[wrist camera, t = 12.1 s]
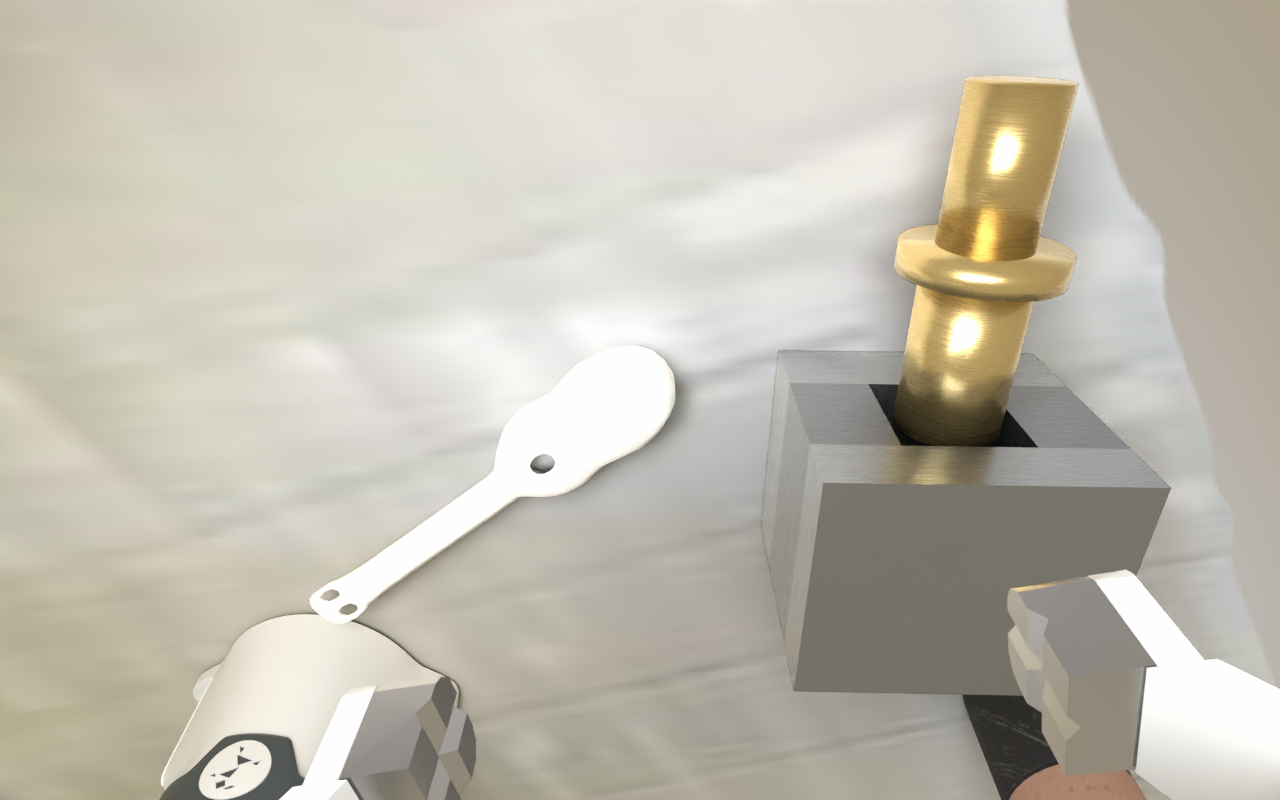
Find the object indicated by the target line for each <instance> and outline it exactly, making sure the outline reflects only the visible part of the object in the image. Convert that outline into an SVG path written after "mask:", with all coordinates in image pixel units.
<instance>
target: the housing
mask: <svg viewBox="0 0 1280 800" xmlns="http://www.w3.org/2000/svg"><path fill="white" fill-rule="evenodd" d="M903 357H904V352H856V351H780V350H778V359H777V369H776V379H775V389H774V400H773V410H772V420H771V430H770V440H769V450H768V460H767V470H766V480H765V490H764V501H763V511H762V521H761V527H762V532H763V537H764V542H765V548H766V553H767V558H768V563H769V568H770V573H771V578H772V583H773V588H774V593H775V599H776V604H777V609H778V614H779V619H780V624H781V629H782V634H783V639H784V644H785V650H786V655H787V660H788V665H789V670H790V675H791V680H792V685H793V690H794V691H807V692H860V693H912V694H965V695H1018V696H1023V694H1022V692H1021V690H1020V688H1019V686H1018V683H1017V681H1016V678H1015V675H1014V673H1013V669H1012V665H1011V660H1010V656H1009V650H1008V633H1009V632H1010V631H1011V629H1012V628H1013V627H1014V626H1015V623H1014V621H1013V619H1012V617H1011V616H1010V614H1009V612H1008V610H1007V599H1008V593H1009V591H1010V589H1011V588H1017V587H1023V586H1029V585H1035V584H1041V583H1047V582H1053V581H1059V580H1065V579H1072V578H1078V577H1086V576H1090V575H1096V574H1102V573H1108V572H1114V571H1120V570H1128V571H1129V572H1131V573H1133V574H1134V575H1135V576H1136V575H1137V572H1138V570H1139V567H1140V565H1141V562H1142V560H1143V557H1144V555H1145V552H1146V550H1147V547H1148V545H1149V542H1150V540H1151V537H1152V535H1153V532H1154V530H1155V527H1156V525H1157V522H1158V520H1159V517H1160V515H1161V512H1162V510H1163V507H1164V504H1165V502H1166V499H1167V497H1168V494H1169V492H1170V489H1171V488H1170V487H1169V486H1168V485H1167V484H1166V483H1165V482H1164V481H1163V480H1162V479H1161V478H1160V477H1159V476H1158V475H1157V474H1156V473H1155V472H1154V471H1153V470H1152V469H1151V468H1150V467H1149V466H1148V465H1147V464H1146V463H1145V462H1144V461H1143V460H1142V459H1140V458H1139V457H1138V456H1137V455H1136V454H1135V453H1134V452H1133V451H1132V450H1131V449H1130V448H1129V447H1128V446H1127V445H1126V444H1125V443H1124V442H1123V441H1122V440H1121V439H1120V438H1119V437H1118V436H1117V435H1116V434H1115V433H1114V432H1113V431H1112V430H1111V429H1110V428H1108V427H1107V426H1106V425H1105V424H1104V423H1103V422H1102V421H1101V420H1100V419H1099V418H1098V417H1097V416H1096V415H1095V414H1094V413H1093V412H1092V411H1091V410H1090V409H1089V408H1088V407H1087V406H1086V405H1085V404H1084V403H1083V402H1082V401H1081V400H1080V399H1079V398H1078V397H1076V396H1075V395H1074V394H1073V393H1072V392H1071V391H1070V390H1069V389H1068V388H1067V387H1066V386H1065V385H1064V384H1063V383H1062V382H1061V381H1060V380H1059V379H1058V378H1057V377H1056V376H1055V375H1054V374H1053V373H1052V372H1051V371H1050V370H1049V369H1048V368H1047V367H1046V366H1044V365H1043V364H1042V363H1041V362H1040V361H1039V360H1038V359H1037V358H1036V357H1035V356H1034V355H1033V354H1020V357H1019V361H1018V365H1017V369H1016V373H1015V377H1014V380H1013V384H1012V388H1011V392H1010V396H1009V400H1008V403H1007V407H1006V411H1005V415H1004V419H1003V423H1002V426H1001V430H1000V434H999V438H998V440H997V441H996V442H995V443H994V444H992V445H991V446H988V447H961V446H930V445H927V444H924V443H921V442H919V441H917V440H914V439H912V438H911V437H909V436H907V435H906V434H904V433H903V432H902V431H900V430H899V429H898V428H897V426H896V425H895V424H894V421H893V411H894V406H895V400H896V395H897V390H898V384H899V379H900V373H901V368H902V362H903Z"/></svg>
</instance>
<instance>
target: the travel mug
mask: <svg viewBox="0 0 1280 800" xmlns="http://www.w3.org/2000/svg"><path fill="white" fill-rule="evenodd" d="M963 698H964V703H965V706H966V709H967V712H968V715H969V717H970V720H971V723H972V725H973V728H974V730H975V733H976V735H977V738H978V741H979V743H980V746H981V748H982V751H983V753H984V756H985V759H986V761H987V764H988V766H989V769H990V771H991V774H992V777H993V779H994V782H995V784H996V787H997V789H998V792H999V795H1000V797H1001V800H1146V799H1145V797H1144V795H1143V793H1142V792H1141V790H1140V788H1139V787H1138V785H1137V783H1136V782H1135V780H1134V779H1133V777H1132V775H1131V774H1130V772H1129V771H1128V770H1122V771H1112V772H1101V773H1091V774H1081V775H1070V776H1065V775H1064V773H1063V771H1062V769H1061V767H1060V765H1059V763H1058V761H1057V760H1056V758H1055V756H1054V754H1053V752H1052V750H1051V748H1050V746H1049V744H1048V743H1047V741H1046V739H1045V737H1044V735H1043V733H1042V713H1041V712H1040V711H1038V710H1037V709H1035V708H1034V707H1032V706H1030V705H1029V704H1027V702H1026V700H1025V698H1024V696H1018V695H965V694H963Z"/></svg>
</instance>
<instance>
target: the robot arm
mask: <svg viewBox="0 0 1280 800" xmlns="http://www.w3.org/2000/svg"><path fill="white" fill-rule="evenodd" d="M1007 610H1008V612H1009V614H1010V616H1011V617H1012V619H1013V621H1014V623H1015V626H1014V627H1013V628H1012V629H1011V631H1010V632H1009V633H1008V650H1009V656H1010V660H1011V665H1012V669H1013V673H1014V675H1015V678H1016V681H1017V683H1018V686H1019V688H1020V690H1021V692H1022V694H1023V696H1024V698H1025V700H1026V702H1027V704H1029V705H1030V706H1032V707H1034V708H1035V709H1037V710H1038V711H1040V712H1041V713H1042V733H1043V735H1044V737H1045V739H1046V741H1047V743H1048V744H1049V746H1050V748H1051V750H1052V752H1053V754H1054V756H1055V758H1056V760H1057V761H1058V763H1059V765H1060V767H1061V769H1062V771H1063V773H1064V775H1065V776H1070V775H1081V774H1091V773H1101V772H1112V771H1122V770H1133V769H1136V773H1137V774H1138V775H1139V776H1141V777H1142V778H1143V779H1144V780H1146V781H1147V782H1148V783H1150V784H1151V785H1152V786H1154V787H1155V788H1156V789H1158V790H1159V791H1160V792H1162V793H1163V794H1164V795H1165V796H1167V797H1168V798H1169V799H1171V800H1280V689H1279V688H1277V687H1275V686H1273V685H1271V684H1269V683H1267V682H1265V681H1263V680H1261V679H1259V678H1257V677H1254V676H1252V675H1250V674H1248V673H1246V672H1244V671H1242V670H1240V669H1238V668H1236V667H1234V666H1232V665H1230V664H1228V663H1226V662H1224V661H1222V660H1220V659H1211V660H1205V659H1204V658H1203V657H1202V655H1201V654H1200V653H1199V652H1198V651H1197V649H1196V648H1195V647H1194V646H1193V645H1192V643H1191V642H1190V641H1189V640H1188V639H1187V637H1186V636H1185V635H1184V634H1183V632H1182V631H1181V630H1180V629H1179V628H1178V626H1177V625H1176V624H1175V623H1174V622H1173V620H1172V619H1171V618H1170V617H1169V616H1168V614H1167V613H1166V612H1165V611H1164V610H1163V608H1162V607H1161V606H1160V605H1159V604H1158V602H1157V601H1156V600H1155V599H1154V598H1153V596H1152V595H1151V594H1150V593H1149V591H1148V590H1147V589H1146V588H1145V587H1144V585H1143V584H1142V583H1141V582H1140V581H1139V579H1138V578H1137V577H1136V576H1135V575H1134V574H1133V573H1131V572H1129V571H1128V570H1120V571H1114V572H1108V573H1102V574H1096V575H1090V576H1086V577H1078V578H1072V579H1065V580H1059V581H1053V582H1047V583H1041V584H1035V585H1029V586H1023V587H1017V588H1011V589H1010V591H1009V593H1008V599H1007ZM193 696H194V698H195V699H196V701H197V703H198V705H197V707H196V709H195V711H194V713H193V715H192V717H191V719H190V721H189V722H188V724H187V726H186V728H185V730H184V732H183V734H182V736H181V738H180V740H179V742H178V744H177V746H176V748H175V750H174V752H173V753H172V755H171V757H170V759H169V761H168V763H167V765H166V767H165V769H164V771H163V774H162V777H161V785H162V786H163V788H164V793H163V795H162V796H161V798H160V800H461V799H460V797H459V795H458V794H459V793H460V792H461V791H462V790H463V788H464V787H465V786H466V785H467V784H468V783H469V781H470V780H471V779H472V775H473V770H474V766H475V761H476V739H475V735H474V730H473V726H472V723H471V721H470V719H469V717H468V715H467V713H465V712H464V711H462V710H461V709H459V708H457V705H458V697H459V689H458V686H457V685H456V684H455V683H454V682H453V681H452V680H450V679H449V678H448V677H445V676H443V675H441V674H438V673H436V672H434V671H432V670H430V669H427V668H425V667H423V666H421V665H420V664H419V663H417V662H416V661H415V660H414V659H413V658H411V657H410V656H409V655H408V654H407V653H406V652H405V651H404V650H403V649H402V648H400V647H399V646H398V645H397V644H395V643H394V642H393V641H391V640H390V639H388V638H387V637H385V636H383V635H382V634H380V633H378V632H376V631H374V630H372V629H370V628H368V627H365V626H363V625H360V624H358V623H355V622H352V621H349V622H348V623H345V624H343V625H338V624H333V623H331V622H329V621H327V620H326V619H324V618H322V617H321V616H320V615H313V614H299V615H288V616H282V617H277V618H273V619H270V620H267V621H264V622H262V623H259V624H257V625H255V626H254V627H252V628H250V629H249V630H247V631H246V632H245V633H243V634H242V635H241V636H240V637H239V638H238V639H237V641H236V642H235V643H234V645H233V646H232V648H231V650H230V651H229V653H228V655H227V657H226V658H225V659H224V661H223V662H222V663H220V664H218V665H216V666H214V667H213V668H211V669H209V670H207V671H206V672H204V673H203V674H202V675H201V676H200V677H199V678H198V680H197V682H196V684H195V686H194V688H193Z"/></svg>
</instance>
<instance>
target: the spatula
mask: <svg viewBox="0 0 1280 800" xmlns="http://www.w3.org/2000/svg"><path fill="white" fill-rule="evenodd" d="M674 404H675V378H674V374H673V372H672V371H671V369H670V367H669V366H668V364H667V362H666V361H665V360H664V359H663V358H661V357H660V356H659V355H658V354H657V353H655V352H654V351H653V350H651V349H647V348H644V347H640V346H616V347H613V348H610V349H607V350H604V351H601V352H598V353H597V354H595V355H593V356H591V357H589V358H587V359H585V360H584V361H582V362H580V363H578V364H577V365H576V366H575V367H574V368H573V369H572V370H571V371H570V372H569V373H568V374H567V375H566V376H565V377H564V378H563V379H562V380H561V381H560V382H559V383H558V384H557V385H556V387H555V388H554V389H553V390H552V391H551V392H550V393H548V394H547V395H545V396H543V397H542V398H540V399H538V400H536V401H533V402H531V403H529V404H527V405H526V406H525V407H523V408H522V409H521V410H519V411H518V412H517V413H515V414H514V416H513V417H512V418H511V420H510V421H509V422H508V423H507V425H506V426H505V428H504V430H503V433H502V436H501V439H500V442H499V445H498V449H497V453H496V458H495V467H494V470H493V472H492V473H491V474H489V475H488V476H487V477H486V478H484V479H483V480H481V481H480V482H479V483H477V484H476V485H475V486H473V487H472V488H470V489H469V490H468V491H466V492H465V493H464V494H462V495H461V496H459V497H458V498H457V499H455V500H454V501H452V502H451V503H450V504H448V505H447V506H445V507H444V508H443V509H441V510H440V511H438V512H437V513H436V514H434V515H433V516H431V517H430V518H429V519H427V520H426V521H424V522H423V523H422V524H420V525H419V526H417V527H416V528H415V529H413V530H412V531H410V532H409V533H408V534H406V535H405V536H403V537H402V538H400V539H399V540H397V541H396V542H395V543H393V544H392V545H390V546H389V547H387V548H386V549H385V550H383V551H382V552H380V553H379V554H377V555H376V556H375V557H373V558H372V559H370V560H369V561H367V562H366V563H364V564H363V565H362V566H360V567H359V568H357V569H355V570H354V571H352V572H350V573H349V574H347V575H345V576H343V577H342V578H340V579H338V580H335V581H332V582H330V583H328V584H327V585H325V586H323V587H322V588H321V589H319V590H318V591H317V592H316V593H314V594H313V595H312V596H311V598H310V599H309V600H308V601H309V603H310V606H311V607H312V608H313V609H314V610H315V611H316V612H317V613H318V614H319V615H320V616H321V617H322V618H324V619H326V620H327V621H329V622H331V623H333V624H338V625H343V624H345V623H348V622H349V621H351V620H353V619H355V618H357V617H358V616H359V615H360V614H361V613H363V612H364V611H365V610H367V608H368V607H369V605H370V604H371V603H372V602H374V601H375V600H376V599H377V598H378V597H380V596H381V595H382V594H383V593H384V592H386V591H387V590H388V589H390V588H391V587H392V586H394V585H395V584H397V583H398V582H400V581H401V580H402V579H404V578H405V577H407V576H408V575H409V574H411V573H412V572H414V571H415V570H417V569H418V568H419V567H421V566H422V565H424V564H425V563H426V562H428V561H429V560H431V559H432V558H434V557H435V556H436V555H438V554H439V553H441V552H442V551H444V550H445V549H447V548H448V547H449V546H451V545H452V544H454V543H455V542H457V541H458V540H460V539H461V538H462V537H464V536H465V535H467V534H468V533H470V532H471V531H473V530H474V529H475V528H477V527H478V526H480V525H481V524H483V523H484V522H486V521H487V520H488V519H490V518H491V517H493V516H494V515H496V514H497V513H499V512H500V511H501V510H503V509H504V508H506V507H507V506H508V505H510V504H511V503H513V502H514V501H515V500H517V499H518V498H519V497H549V496H559V495H561V494H564V493H567V492H569V491H572V490H574V489H576V488H577V487H579V486H581V485H582V484H584V483H585V482H587V481H588V480H589V479H590V478H591V477H592V476H593V475H594V474H595V473H596V472H597V471H598V470H599V469H600V468H601V467H603V466H604V465H606V464H608V463H610V462H613V461H615V460H617V459H620V458H622V457H624V456H626V455H628V454H630V453H632V452H634V451H636V450H638V449H640V448H642V447H644V446H645V445H646V444H647V443H648V442H649V441H650V440H651V439H652V438H653V437H654V436H655V435H657V434H658V433H659V431H660V430H661V428H662V427H663V425H664V424H665V422H666V421H667V419H668V418H669V416H670V414H671V412H672V409H673V406H674ZM331 589H334V590H337V591H339V594H340V595H339V596H338V597H337V598H336V599H333V600H331V601H328V600H324V599H323V597H322V594H323V593H324V592H326V591H328V590H331ZM348 604H354V605H357V608H358V609H357V611H356V612H354V613H352V614H349V615H346V614H342V613H341V611H340V609H341V608H342V607H343V606H345V605H348Z"/></svg>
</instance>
